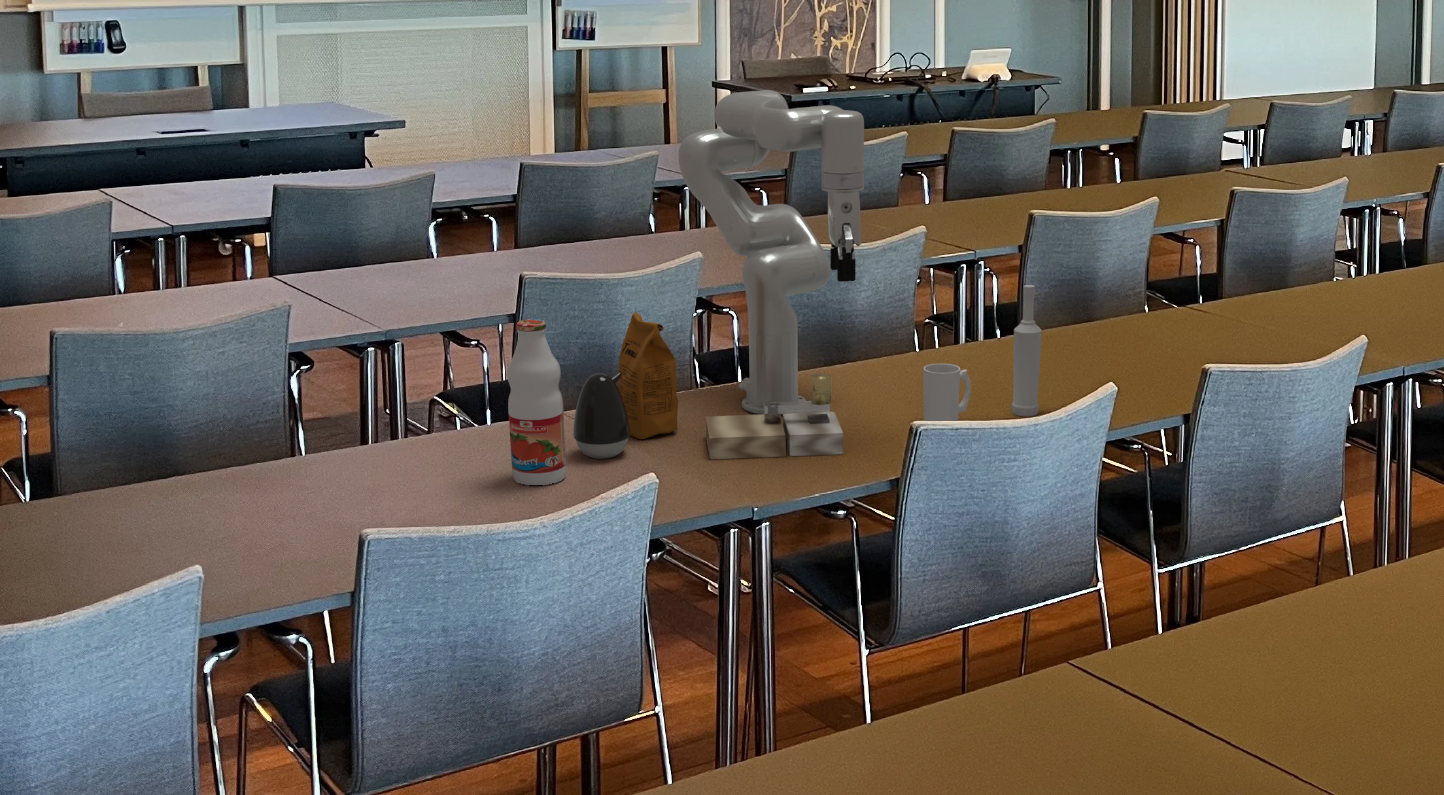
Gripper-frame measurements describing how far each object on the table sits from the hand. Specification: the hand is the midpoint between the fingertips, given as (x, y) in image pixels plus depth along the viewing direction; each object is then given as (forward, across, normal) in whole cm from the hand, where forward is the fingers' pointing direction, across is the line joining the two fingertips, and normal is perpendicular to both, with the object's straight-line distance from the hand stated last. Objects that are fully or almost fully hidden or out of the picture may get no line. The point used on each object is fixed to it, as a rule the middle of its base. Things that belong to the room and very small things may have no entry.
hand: (842, 275), depth 301 cm
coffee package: (+31, +7, +36) cm, 48 cm away
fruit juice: (+31, -18, +56) cm, 66 cm away
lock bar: (+26, -3, +9) cm, 28 cm away
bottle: (+31, +9, -36) cm, 48 cm away
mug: (+31, +1, -20) cm, 36 cm away
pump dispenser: (+31, -6, +44) cm, 54 cm away
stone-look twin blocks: (+30, -5, +13) cm, 33 cm away
